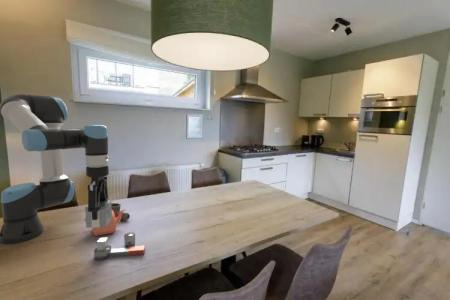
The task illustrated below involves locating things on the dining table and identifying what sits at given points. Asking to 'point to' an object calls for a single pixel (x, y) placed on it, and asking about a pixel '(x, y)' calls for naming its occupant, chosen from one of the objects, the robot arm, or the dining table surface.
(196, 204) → the dining table surface
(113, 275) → the dining table surface
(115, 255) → the ratchet
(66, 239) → the dining table surface
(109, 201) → the grey square box
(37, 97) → the robot arm
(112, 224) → the teapot
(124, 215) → the pipe
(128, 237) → the socket
